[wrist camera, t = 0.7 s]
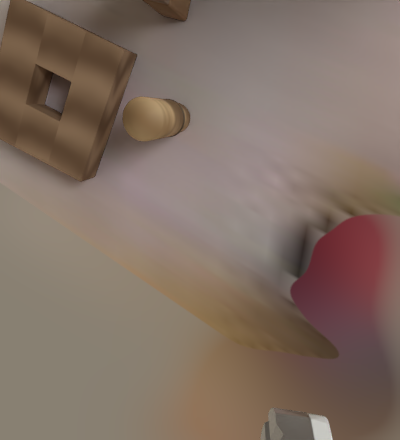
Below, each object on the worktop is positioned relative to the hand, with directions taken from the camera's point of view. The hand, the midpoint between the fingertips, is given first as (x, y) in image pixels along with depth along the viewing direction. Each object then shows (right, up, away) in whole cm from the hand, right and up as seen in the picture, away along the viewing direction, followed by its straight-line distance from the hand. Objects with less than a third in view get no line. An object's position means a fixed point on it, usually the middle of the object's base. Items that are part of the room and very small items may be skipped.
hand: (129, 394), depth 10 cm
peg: (-1, +19, +37) cm, 42 cm away
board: (-17, +23, +40) cm, 49 cm away
